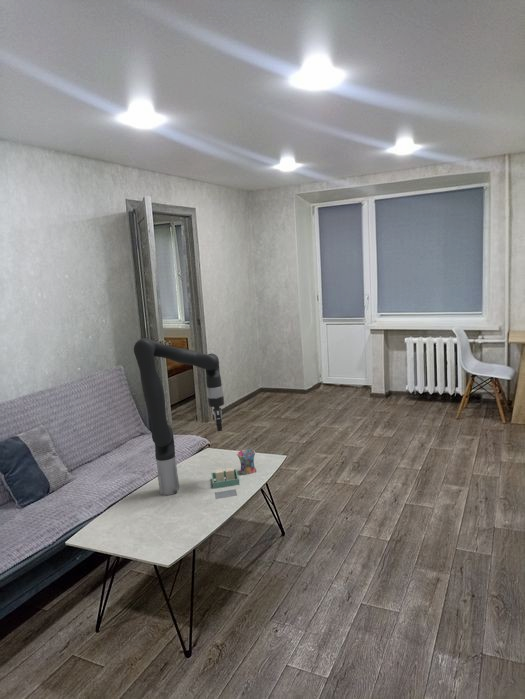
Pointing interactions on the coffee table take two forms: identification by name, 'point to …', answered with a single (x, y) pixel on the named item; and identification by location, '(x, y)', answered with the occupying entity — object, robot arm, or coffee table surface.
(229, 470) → the stone right
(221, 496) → the slate board
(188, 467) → the coffee table surface
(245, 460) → the floral patterned vase
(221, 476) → the block
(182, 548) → the coffee table surface
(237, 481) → the green bin
